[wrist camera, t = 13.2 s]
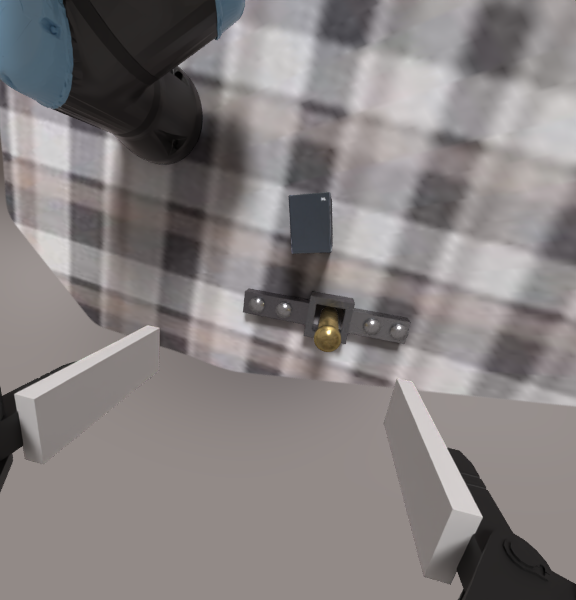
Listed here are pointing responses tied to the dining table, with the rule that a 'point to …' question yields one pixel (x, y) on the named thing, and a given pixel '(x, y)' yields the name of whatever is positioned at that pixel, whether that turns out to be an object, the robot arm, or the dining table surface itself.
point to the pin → (328, 330)
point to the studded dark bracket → (352, 318)
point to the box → (311, 223)
